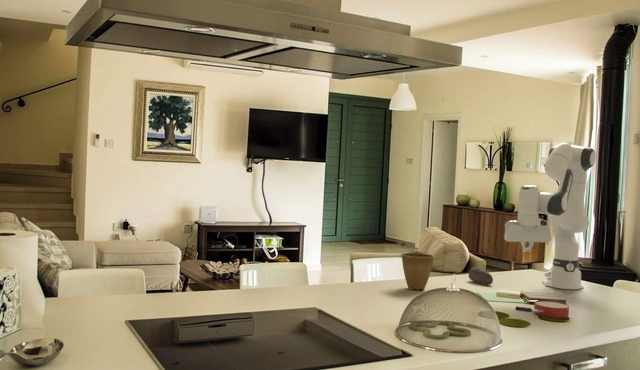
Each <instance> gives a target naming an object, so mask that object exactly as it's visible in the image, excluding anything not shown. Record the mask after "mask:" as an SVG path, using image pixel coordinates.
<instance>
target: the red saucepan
mask: <svg viewBox="0 0 640 370" xmlns="http://www.w3.org/2000/svg"><path fill="white" fill-rule="evenodd" d="M533 304H534V305H533V306H534V307H533V308H531V307H524V306H515V311H517V312H525V313H526V312H527V313H534V314H535V315H536V316H539V317H542V316H544V317H543V318H546V317H550V318H549V319H554V318H564V319H568V318H569V315H570V305H569V304H567V303H566V304H564V303H559V302H553V301H536V302H534V303H533Z"/></svg>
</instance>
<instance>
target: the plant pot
mask: <svg viewBox="0 0 640 370" xmlns="http://www.w3.org/2000/svg"><path fill="white" fill-rule="evenodd" d="M434 259H435V255H431V254H429V253H419V252H416V253H415V252H406V253H401V260H402V261H401V262H402V269H403V273H404V279H405V282H406V285H407V288H408V289H409V288H411V289H424V290H425V289H426V286H427V284H428V282H429V278H430V276H431V272H432V268H433V263H434ZM411 289H410V290H411Z"/></svg>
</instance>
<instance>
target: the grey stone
mask: <svg viewBox="0 0 640 370" xmlns="http://www.w3.org/2000/svg"><path fill="white" fill-rule="evenodd" d="M468 270H469V271H468V278H469V280H470V281H472V282H474V283H477V284H481V285H485V286H486V285H492V283H493V282H494V278H493V276H492V274H490V273H489V272H488V271H485V270H483V269H480V268H478V267H471V268H470V269H468Z"/></svg>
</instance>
